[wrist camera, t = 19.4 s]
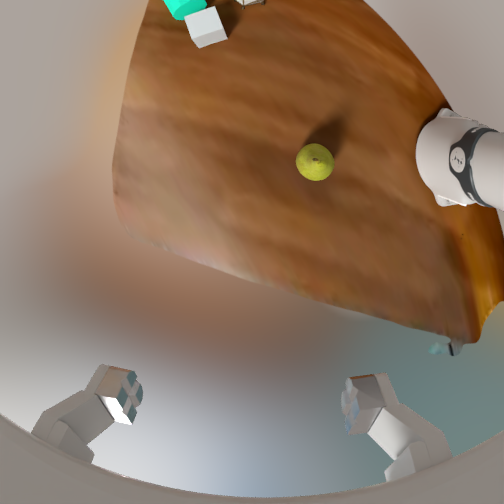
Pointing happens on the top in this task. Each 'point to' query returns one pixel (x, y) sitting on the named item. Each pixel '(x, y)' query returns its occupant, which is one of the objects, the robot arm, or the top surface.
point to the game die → (249, 2)
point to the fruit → (315, 162)
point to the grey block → (205, 27)
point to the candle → (184, 7)
